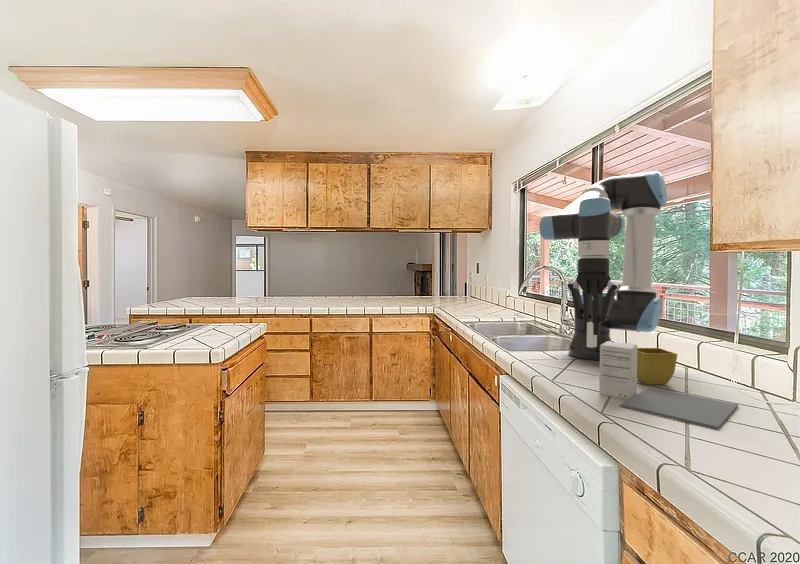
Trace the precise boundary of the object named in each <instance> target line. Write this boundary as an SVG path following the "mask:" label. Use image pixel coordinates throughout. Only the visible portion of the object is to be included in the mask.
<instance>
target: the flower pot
mask: <svg viewBox="0 0 800 564" xmlns="http://www.w3.org/2000/svg"><path fill="white" fill-rule="evenodd" d="M677 358H678V353H676V352H672V351H670V350H666V349H663V348H660V347H637V380H639V381H641V382H643V383H644V384H647V385H663V386H664V385H667V384H668V383H669V382H670V381H671V379H672V378H673V376H674V373H675V371H676V365H677V360H678V359H677Z"/></svg>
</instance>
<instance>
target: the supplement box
mask: <svg viewBox="0 0 800 564" xmlns="http://www.w3.org/2000/svg"><path fill="white" fill-rule="evenodd" d="M611 341H612V340H611ZM611 341H607V342H605V343H603V344H601V345H600V360H599V390H598V391H599V394H600V395H603V396H609V397H612V398H613V397H614V398H620V399H624V400H629V399H630V398H632V397H634V396H636V395H637V392H638V378H637V348H638V344H636V343H628V342H619V341H612V342H611Z"/></svg>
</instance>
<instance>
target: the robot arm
mask: <svg viewBox="0 0 800 564" xmlns="http://www.w3.org/2000/svg"><path fill="white" fill-rule="evenodd" d="M666 187H667V186H666V183H665V178H664V176H663V175H662V173H661V172H659V171H644V172H640V173H633V174H625V175H620V176H618V175H617V176H616V175H615V176H610V177H608V178H605V179H602V180H600V181H598V182H596V183H594V184H592V185H590V186H588V187H587V188H586V189H584V190H583V191H582V192H581V194H580V197H578V198H577V199H576V200H574V201H573V202H571V203H570V204H569V205H568V206H566V207H565V208H564V209H562V210H561V211H559V212H557V214H549V215H548V214H547V215H545V216H542V217H541V218H540V221H539V224H538V228H539V234H540V237H541V238H542V239H543V240H545V241H551V240H552V241H557V240H558V241H559V240H561V241H562V240H575V239H577V240H578V243H577V256H578V257H580V258H578V259H577V276H576V277H575V280H574V281H573V282H571V283H568V284H567V288H568V289H569V291H570V293H571V297H572V302H573V307H574V322H573V323H574V324H573V325H574V326H573V327H574V328H573V329H574V332H573V337H572V339H571V342H570V344H569V347H568V355H569V356H570V357H574V358H578V359H583V360H591V361H600V345H601V344H603V343H605V342H607V341H611V342H613V341H612V338H611V330H619V331H630V332H636V333H651V332H654V331H655V330H656V328H657V327H658V326H659V325H658V324H659V323H660V318H661V314H662V308H663V306H662V305H663V304H662V303H663V302H662V298H661V297H657V291H655V290H654V288H652V280H653V279H652V276H653V259H654V258H653V255H654V241H655V239H654V236H655V218H656V216H658V215H659V213H661V208H662V207H664V206H666V205H667V201H668V196H667V195H668V194H667V188H666ZM613 210H614V211H613ZM615 210H617V211H618V210H620V213H621V215H620V214H619V213H618V212H616V211H615ZM622 215H623V216H622ZM623 217H624V218H625V220H624V218H623ZM623 230H624V245H623V246H624V247H623V262H622V263H623V264H622V265H623V266H622V280H621V281H622V282H621V285H620V284H616V283H614V282H613V281H611V280H612V279H611V277H610V274H609V273H610V259H609V258H608V257H609V256H610V253H611V252H610V251H611V249H610V246H611V245H610V242H611V241H610V239H611V238H612V239H614V238H615V237H618V236H619V235H620V234H622V232H623ZM579 288H580V289H581V290H582V293H580V289H579ZM606 288H607V291H604V290H605V289H606Z"/></svg>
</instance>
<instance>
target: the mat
mask: <svg viewBox="0 0 800 564" xmlns="http://www.w3.org/2000/svg"><path fill="white" fill-rule="evenodd" d="M620 408H625V409H629V410H633V411H637V412H642V413H646V414H650V415H654V416H658V415H660V416H659V417H662V416H664V418H666V417H668V418H667V419H671V418H673V419H672V420H675V419H677V420H676V421H679V420H680V422H683V421H684V422H683V423H688V424H692V425H695V426H701V427H704V426H705V428H708V427H710V429H713V428H714V429H713V430H717V429H718V430H719V429H721V427H722V426H723V425H724V424H725V422H727V420H728V419H729V418H730V417H731V416H732V415H733V413H734V412H735V411H736V410H737V409H738V408H739V404H737V403H733V402H728V401H722V400H717V399H713V398H712V399H711V398H707V397H702V396H697V395H691V394H686V393H682V392H676V391H671V390H666V389H660V388H656V387H647V388H646V389H644V390H643V391H641V392H639V393H638V394H637V393H636V394H635V395H634V396H633V397H632V398H630V399H626V400H625V401H624V402H622V403H620Z"/></svg>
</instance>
